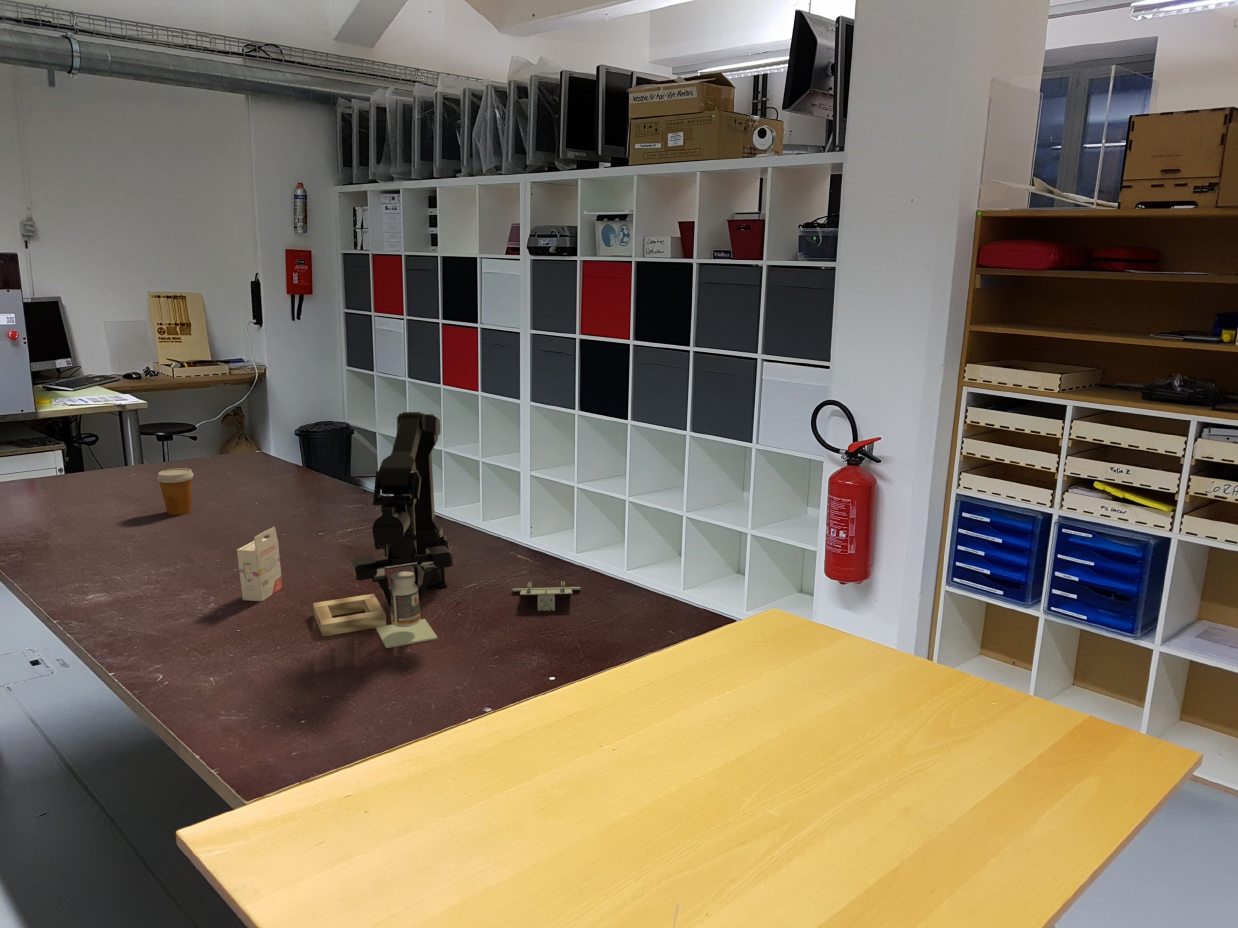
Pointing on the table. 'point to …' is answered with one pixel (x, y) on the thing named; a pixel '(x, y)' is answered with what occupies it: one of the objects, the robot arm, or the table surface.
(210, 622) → the table surface
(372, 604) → the pocket holder
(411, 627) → the mat
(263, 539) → the ink cartridge box
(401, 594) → the pill bottle
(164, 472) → the disposable coffee cup
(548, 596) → the metal bracket
